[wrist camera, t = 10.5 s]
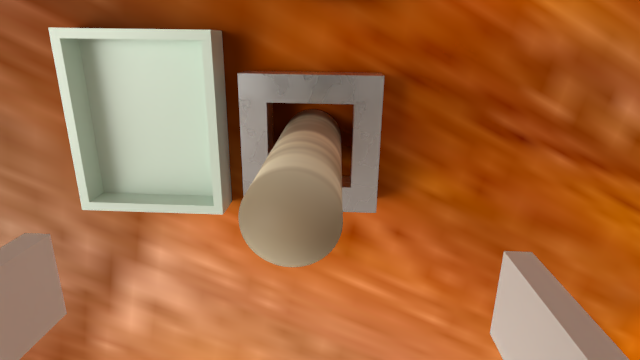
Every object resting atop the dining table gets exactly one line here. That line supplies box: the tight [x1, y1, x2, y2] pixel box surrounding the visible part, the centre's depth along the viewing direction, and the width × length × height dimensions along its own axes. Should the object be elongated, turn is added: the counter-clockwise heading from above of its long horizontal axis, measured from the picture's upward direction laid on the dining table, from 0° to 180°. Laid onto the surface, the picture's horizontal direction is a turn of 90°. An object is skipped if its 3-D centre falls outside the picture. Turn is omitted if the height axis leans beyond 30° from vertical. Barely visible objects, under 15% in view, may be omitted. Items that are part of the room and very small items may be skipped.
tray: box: [48, 28, 232, 214], centre depth 28 cm, size 12×10×2 cm
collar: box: [237, 70, 384, 213], centre depth 28 cm, size 9×9×2 cm
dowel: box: [239, 109, 343, 267], centre depth 22 cm, size 4×4×14 cm
